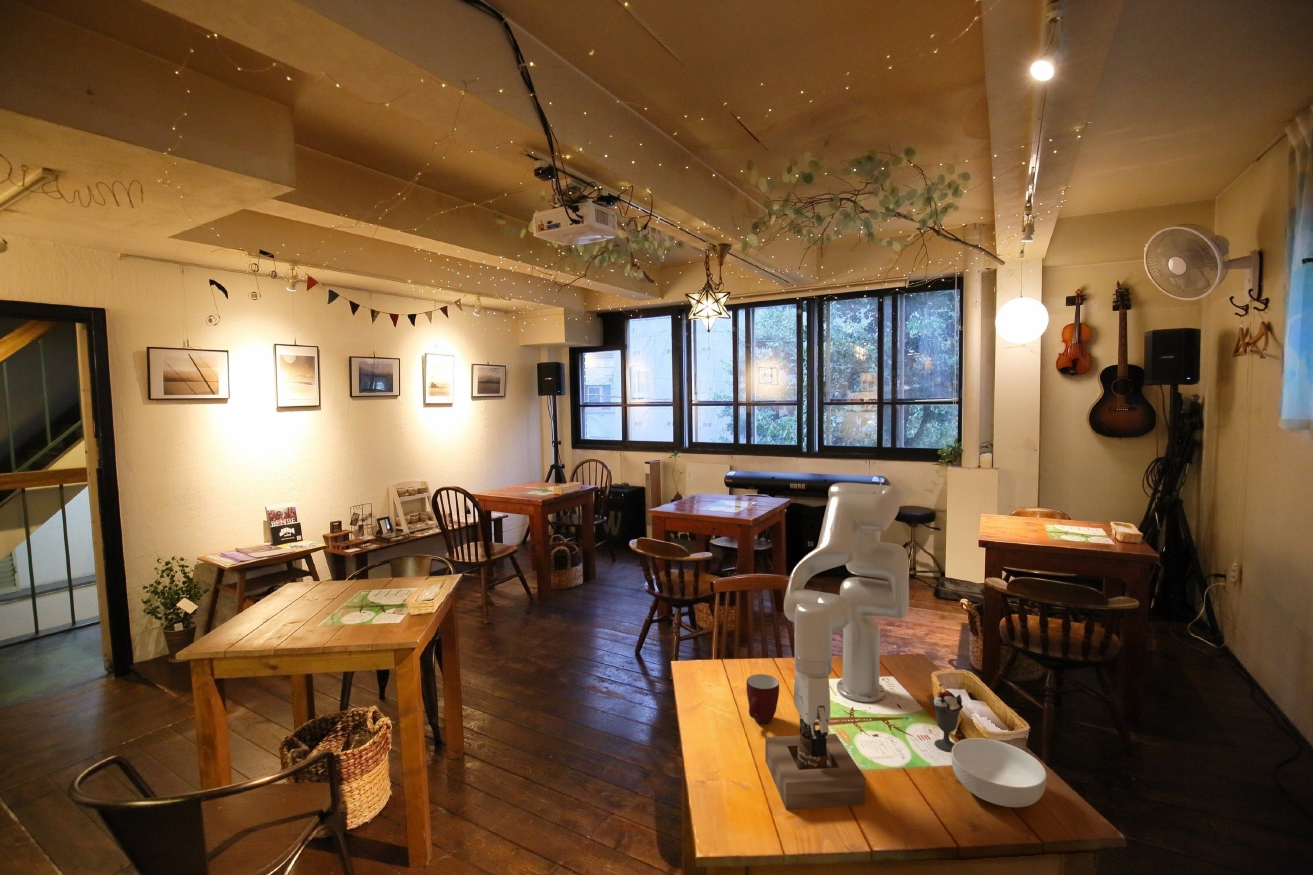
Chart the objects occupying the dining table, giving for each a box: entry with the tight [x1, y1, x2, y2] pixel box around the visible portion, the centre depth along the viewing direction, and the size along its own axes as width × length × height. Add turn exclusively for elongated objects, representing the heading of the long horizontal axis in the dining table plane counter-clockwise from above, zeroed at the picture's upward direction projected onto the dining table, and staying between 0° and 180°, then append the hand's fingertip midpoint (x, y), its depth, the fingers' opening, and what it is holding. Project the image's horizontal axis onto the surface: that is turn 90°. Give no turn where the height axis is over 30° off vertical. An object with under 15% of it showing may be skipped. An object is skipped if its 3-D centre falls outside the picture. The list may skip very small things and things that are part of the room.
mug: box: [746, 673, 780, 725], centre depth 151 cm, size 11×8×10 cm
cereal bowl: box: [950, 737, 1048, 808], centre depth 123 cm, size 17×17×7 cm
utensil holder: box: [798, 714, 827, 770], centre depth 127 cm, size 6×6×12 cm
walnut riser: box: [764, 733, 866, 810], centre depth 127 cm, size 16×16×6 cm
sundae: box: [930, 683, 964, 753], centre depth 139 cm, size 7×7×15 cm
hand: (812, 744), depth 127 cm, fingers open, 6 cm apart
